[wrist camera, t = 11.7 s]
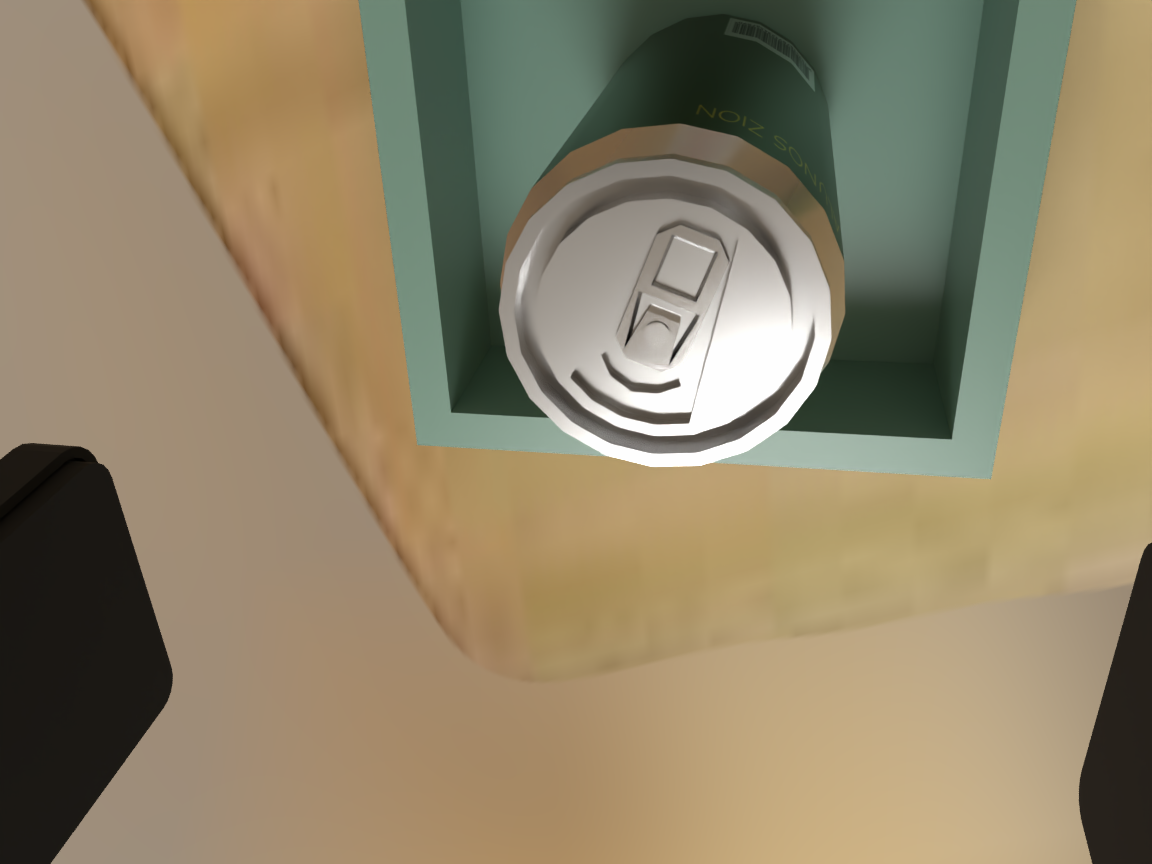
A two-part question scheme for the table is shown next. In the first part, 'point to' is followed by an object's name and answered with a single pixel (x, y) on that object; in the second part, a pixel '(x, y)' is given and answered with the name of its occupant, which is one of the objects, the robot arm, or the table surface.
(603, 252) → the beer can
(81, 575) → the robot arm
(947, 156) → the open rectangular storage bin
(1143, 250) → the table surface
